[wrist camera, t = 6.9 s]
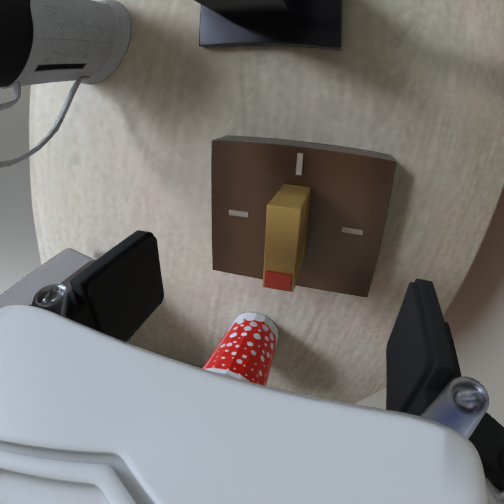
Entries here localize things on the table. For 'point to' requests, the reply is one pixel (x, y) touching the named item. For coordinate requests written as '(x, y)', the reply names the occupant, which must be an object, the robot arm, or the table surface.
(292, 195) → the thumb turn
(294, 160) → the lock plate
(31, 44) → the glass holder
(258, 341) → the beverage cup
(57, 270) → the network device
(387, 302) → the table surface
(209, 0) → the handle bracket
